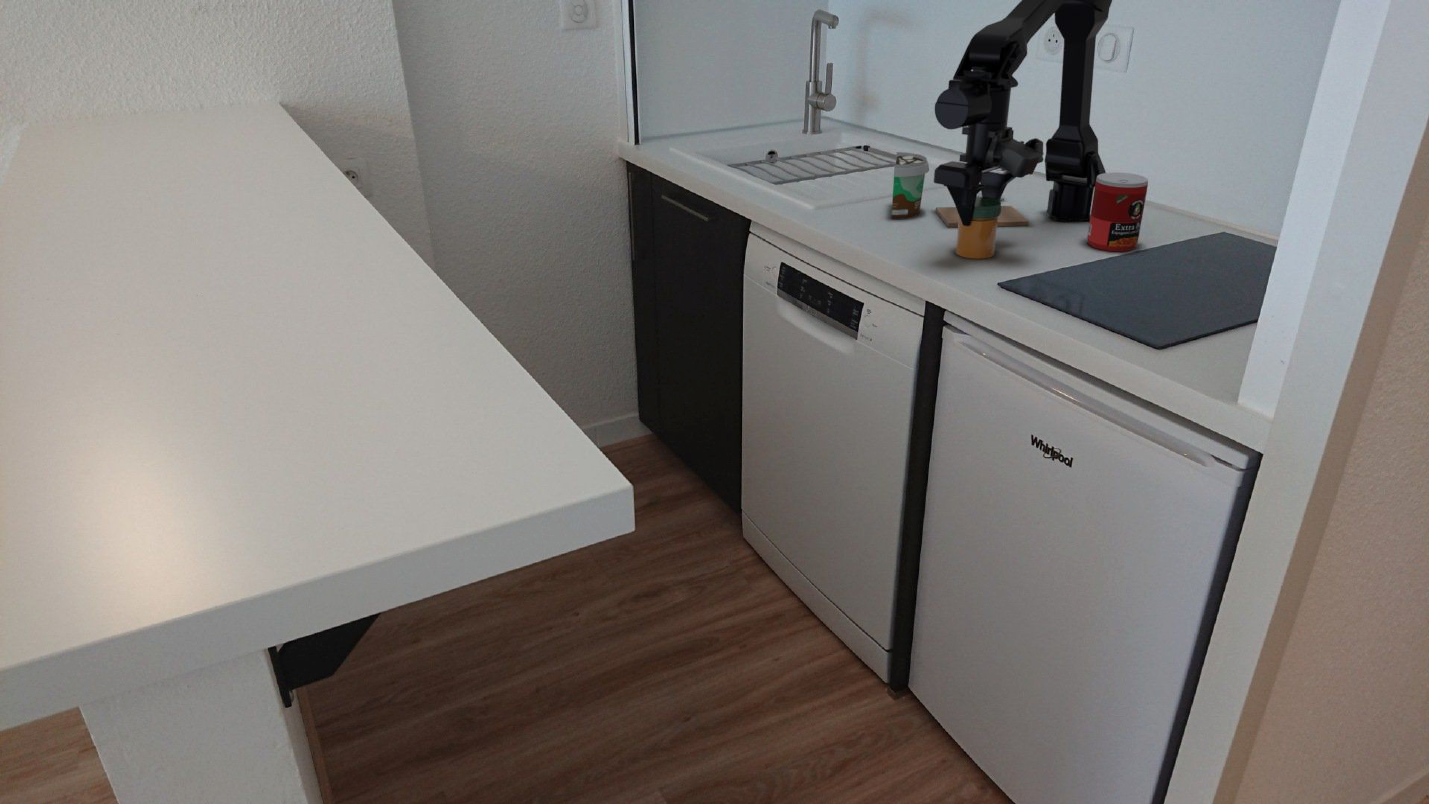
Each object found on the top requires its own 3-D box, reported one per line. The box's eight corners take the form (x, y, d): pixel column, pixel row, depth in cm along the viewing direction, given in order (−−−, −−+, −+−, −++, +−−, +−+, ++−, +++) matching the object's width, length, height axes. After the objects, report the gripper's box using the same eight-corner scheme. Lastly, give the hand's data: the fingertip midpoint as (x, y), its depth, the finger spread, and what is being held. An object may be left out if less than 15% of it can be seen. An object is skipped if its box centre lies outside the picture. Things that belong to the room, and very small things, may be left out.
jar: (988, 247, 156) (993, 201, 153) (998, 258, 151) (1003, 211, 147) (952, 248, 156) (956, 202, 153) (960, 259, 151) (964, 211, 147)
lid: (953, 209, 154) (954, 197, 153) (994, 208, 154) (995, 196, 153) (962, 219, 148) (964, 207, 147) (1004, 218, 148) (1006, 206, 147)
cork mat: (1010, 210, 177) (1011, 205, 177) (1027, 225, 167) (1028, 221, 167) (935, 211, 177) (935, 207, 177) (948, 227, 167) (948, 222, 167)
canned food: (1111, 254, 151) (1123, 185, 146) (1075, 241, 158) (1085, 175, 153) (1148, 248, 154) (1160, 179, 149) (1111, 236, 160) (1122, 170, 156)
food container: (925, 222, 171) (930, 165, 167) (891, 220, 172) (894, 165, 168) (926, 205, 182) (930, 152, 177) (893, 204, 183) (896, 151, 179)
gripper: (1003, 135, 133) (991, 243, 140) (1067, 118, 145) (1053, 218, 152) (935, 126, 141) (927, 230, 147) (1002, 110, 152) (991, 207, 159)
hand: (977, 221), depth 151 cm, fingers closed on lid, 6 cm apart
